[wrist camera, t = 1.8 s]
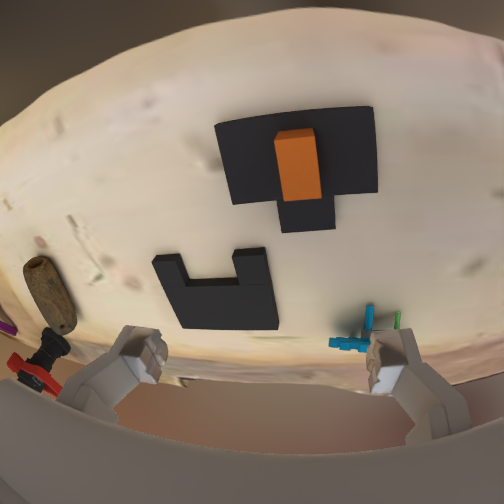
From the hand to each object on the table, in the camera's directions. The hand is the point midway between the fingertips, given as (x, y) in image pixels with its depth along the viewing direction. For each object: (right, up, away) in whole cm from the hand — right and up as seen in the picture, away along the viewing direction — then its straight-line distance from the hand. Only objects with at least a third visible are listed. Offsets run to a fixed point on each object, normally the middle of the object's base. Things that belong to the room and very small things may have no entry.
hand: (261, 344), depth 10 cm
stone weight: (-36, -3, +33) cm, 49 cm away
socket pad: (-5, -1, +26) cm, 27 cm away
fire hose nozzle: (-52, -19, +48) cm, 73 cm away
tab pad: (+4, +11, +16) cm, 20 cm away
